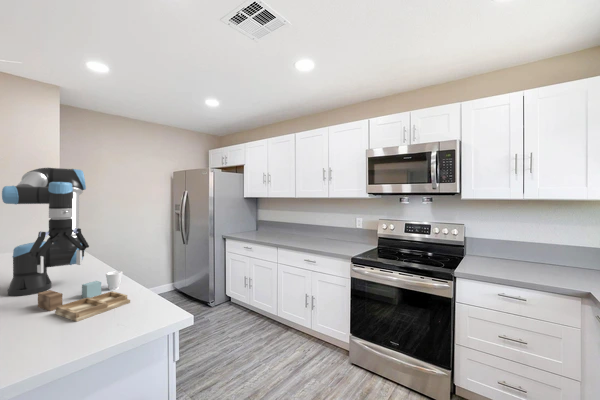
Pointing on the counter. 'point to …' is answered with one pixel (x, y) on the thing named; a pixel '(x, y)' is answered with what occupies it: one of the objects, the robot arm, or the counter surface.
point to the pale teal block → (91, 289)
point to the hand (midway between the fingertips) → (60, 268)
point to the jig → (91, 306)
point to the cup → (114, 279)
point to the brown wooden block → (49, 300)
